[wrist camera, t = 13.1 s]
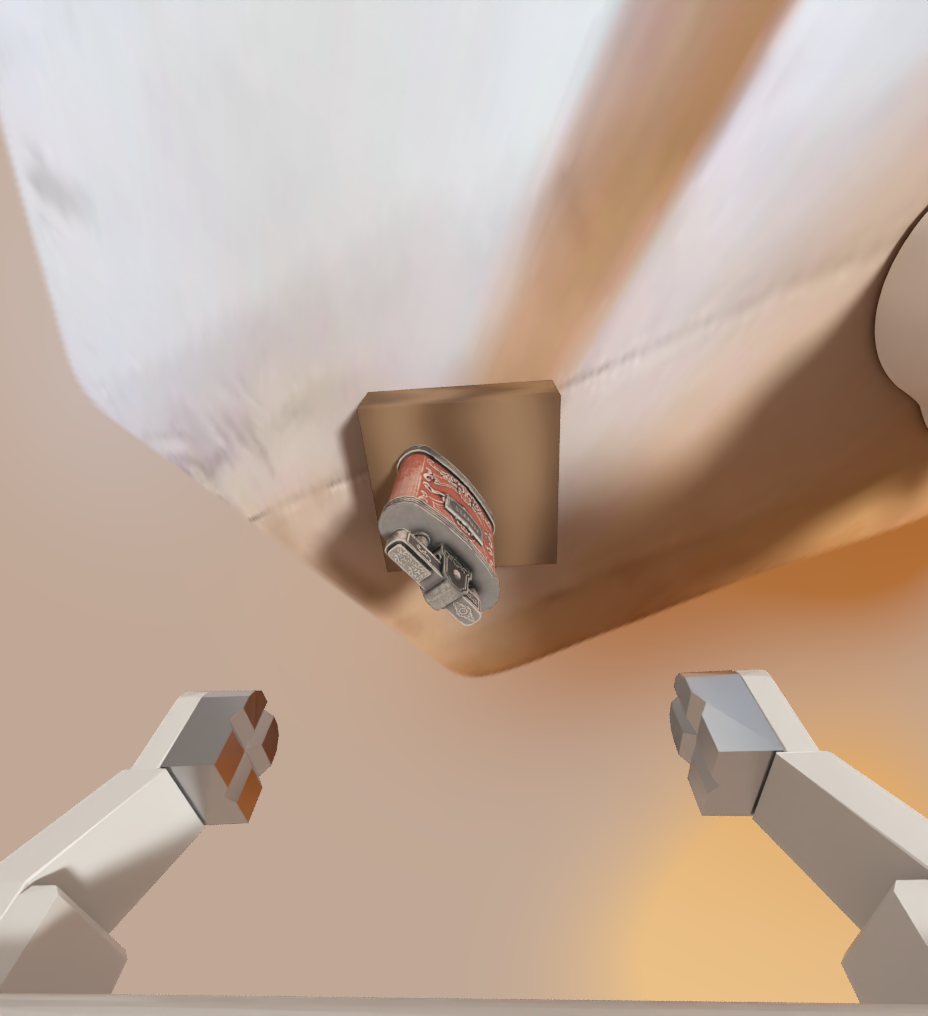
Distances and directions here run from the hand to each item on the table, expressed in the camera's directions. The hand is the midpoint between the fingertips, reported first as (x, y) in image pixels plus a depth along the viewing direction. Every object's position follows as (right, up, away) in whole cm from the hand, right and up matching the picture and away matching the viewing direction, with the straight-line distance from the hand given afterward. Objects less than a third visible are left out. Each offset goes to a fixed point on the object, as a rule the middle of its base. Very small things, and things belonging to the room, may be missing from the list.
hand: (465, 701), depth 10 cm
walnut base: (0, +7, +25) cm, 26 cm away
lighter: (-1, +5, +22) cm, 23 cm away
